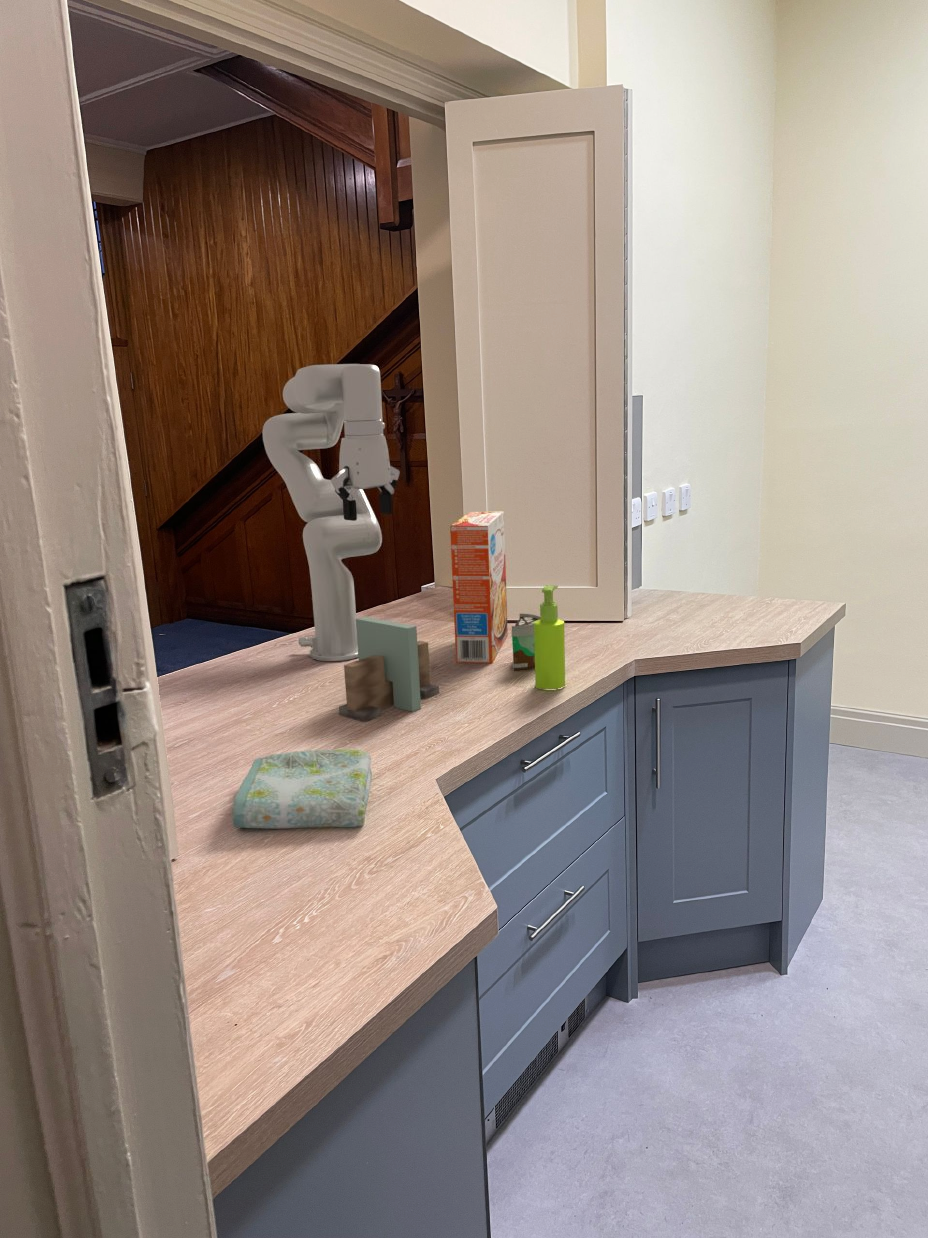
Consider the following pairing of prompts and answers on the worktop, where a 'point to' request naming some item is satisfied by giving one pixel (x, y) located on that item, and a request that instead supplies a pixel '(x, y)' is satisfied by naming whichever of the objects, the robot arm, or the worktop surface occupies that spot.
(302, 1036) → the worktop surface
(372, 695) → the walnut slotted board
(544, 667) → the soap dispenser
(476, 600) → the cereal box
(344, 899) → the worktop surface
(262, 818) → the towel
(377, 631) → the sage slotted plate
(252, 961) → the worktop surface
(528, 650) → the food container
